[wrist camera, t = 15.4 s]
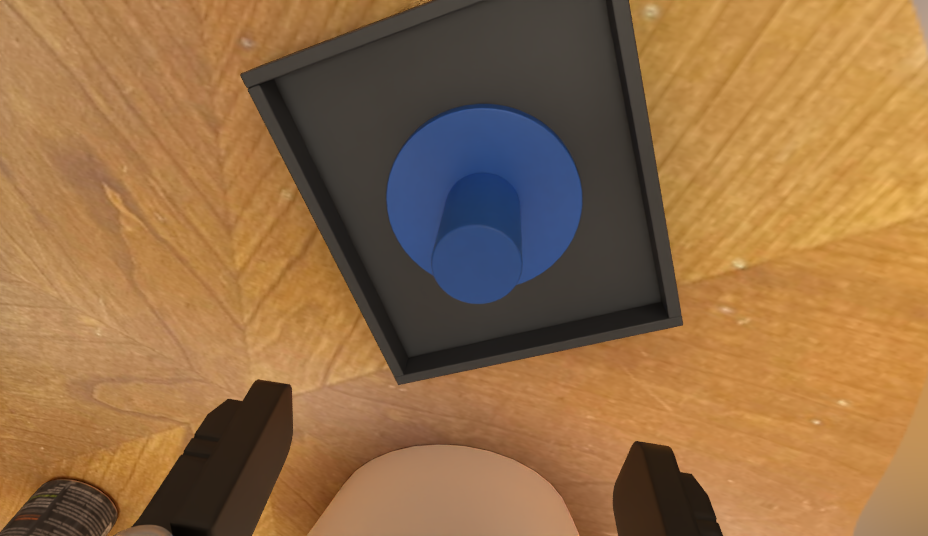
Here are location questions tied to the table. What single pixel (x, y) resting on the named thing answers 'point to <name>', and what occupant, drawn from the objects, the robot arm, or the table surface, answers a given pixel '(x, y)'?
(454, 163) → the blue lid
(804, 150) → the table surface
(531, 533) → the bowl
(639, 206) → the tray
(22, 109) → the table surface
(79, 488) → the pill bottle
